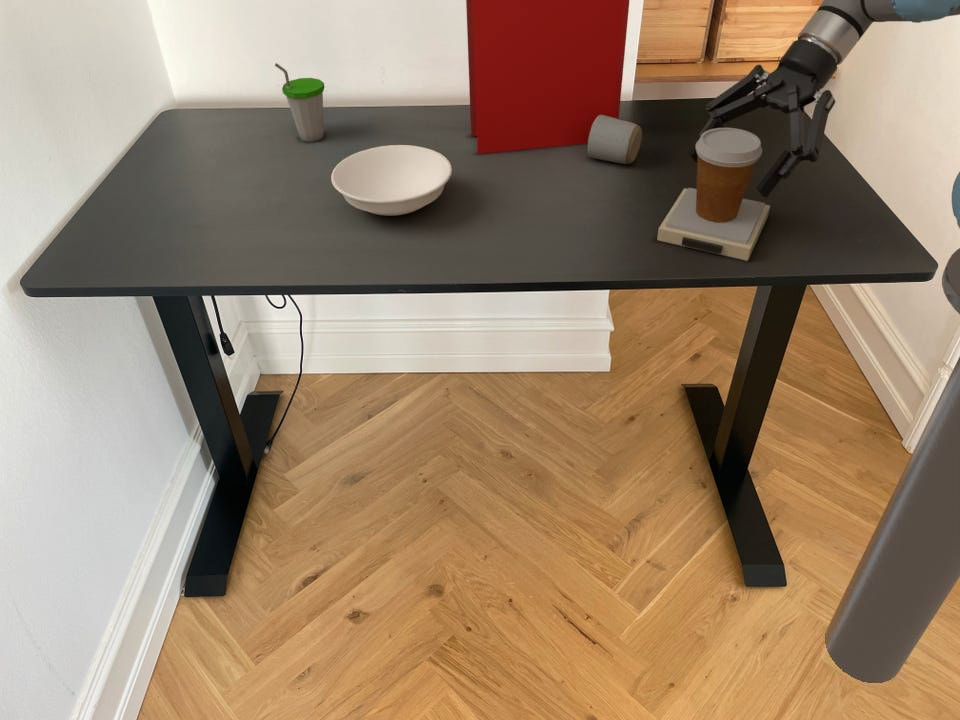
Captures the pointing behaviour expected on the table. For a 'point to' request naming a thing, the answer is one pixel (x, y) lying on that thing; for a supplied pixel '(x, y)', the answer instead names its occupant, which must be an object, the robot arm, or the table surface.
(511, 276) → the table surface
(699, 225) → the scale
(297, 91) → the cup
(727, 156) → the disposable coffee cup
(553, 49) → the book
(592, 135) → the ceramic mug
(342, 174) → the bowl
